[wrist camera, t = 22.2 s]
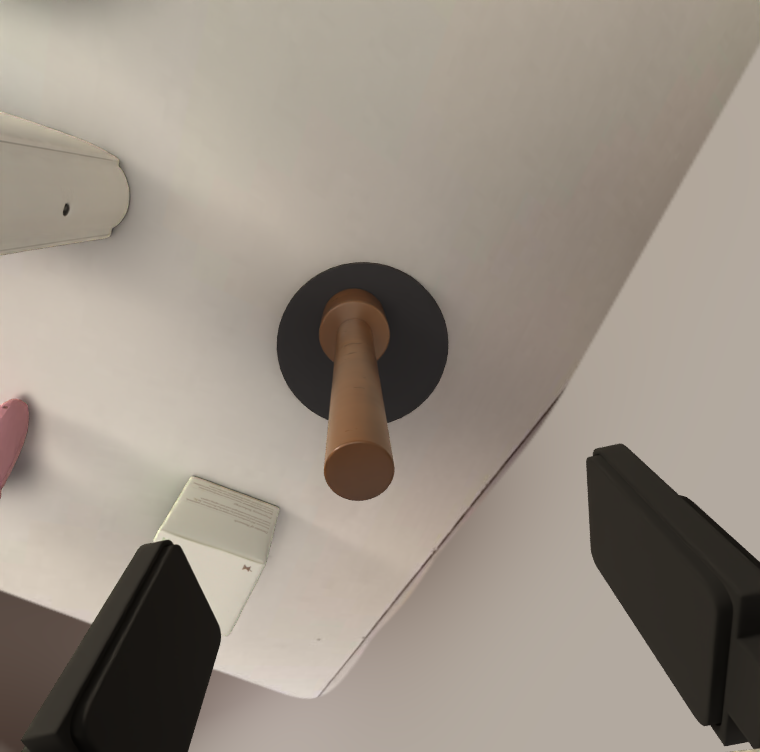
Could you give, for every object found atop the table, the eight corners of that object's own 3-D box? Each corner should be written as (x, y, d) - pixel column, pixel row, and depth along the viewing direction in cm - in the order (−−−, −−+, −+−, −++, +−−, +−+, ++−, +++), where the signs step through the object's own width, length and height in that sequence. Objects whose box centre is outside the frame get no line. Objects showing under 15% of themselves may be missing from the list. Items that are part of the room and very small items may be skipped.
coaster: (431, 243, 23) (432, 244, 22) (458, 404, 26) (460, 407, 26) (255, 284, 23) (253, 285, 22) (304, 438, 26) (303, 442, 26)
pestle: (383, 285, 23) (427, 401, 10) (387, 346, 24) (431, 522, 11) (319, 290, 23) (277, 414, 10) (326, 351, 24) (297, 536, 11)
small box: (190, 472, 26) (156, 529, 22) (282, 505, 28) (269, 566, 23) (159, 544, 28) (122, 611, 23) (248, 572, 29) (229, 641, 25)
